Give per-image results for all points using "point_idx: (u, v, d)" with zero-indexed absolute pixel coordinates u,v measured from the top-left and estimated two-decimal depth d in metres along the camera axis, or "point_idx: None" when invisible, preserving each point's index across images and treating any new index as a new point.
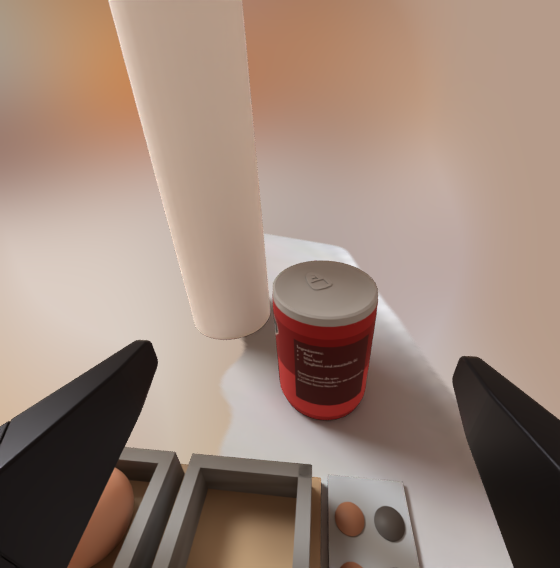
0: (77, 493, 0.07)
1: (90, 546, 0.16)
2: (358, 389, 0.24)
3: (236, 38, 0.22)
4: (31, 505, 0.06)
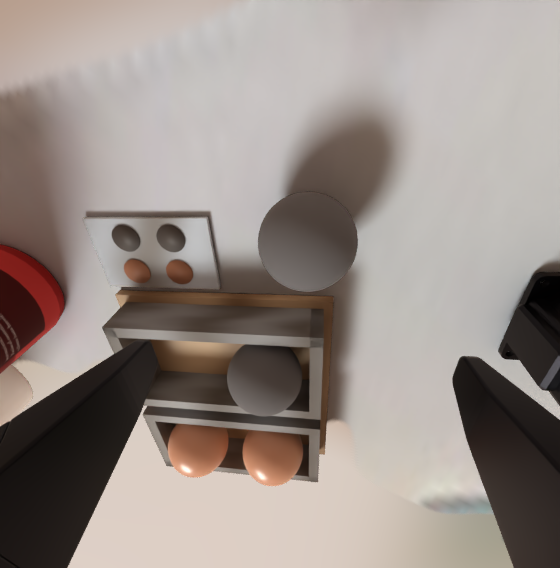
0: (77, 493, 0.07)
1: (210, 442, 0.24)
2: None
3: None
4: (31, 505, 0.06)
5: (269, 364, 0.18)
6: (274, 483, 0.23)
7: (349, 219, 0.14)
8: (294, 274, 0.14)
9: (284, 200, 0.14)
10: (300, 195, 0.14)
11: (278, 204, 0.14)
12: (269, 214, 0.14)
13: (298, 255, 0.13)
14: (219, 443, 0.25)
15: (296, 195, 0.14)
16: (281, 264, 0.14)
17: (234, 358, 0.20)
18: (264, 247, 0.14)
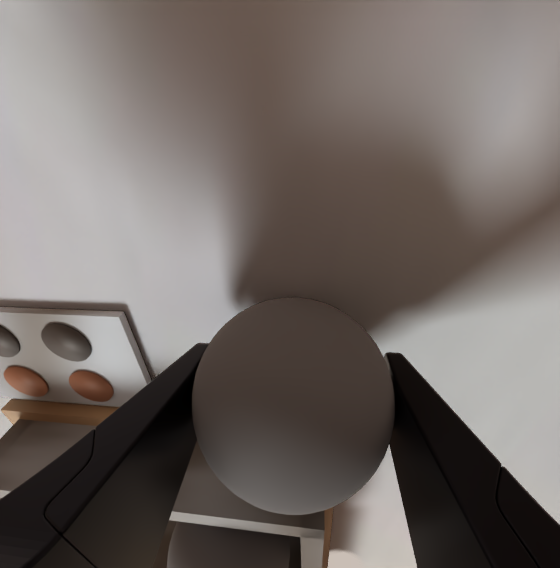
0: (157, 503, 0.07)
1: None
2: None
3: None
4: (124, 517, 0.06)
5: (231, 562, 0.11)
6: None
7: (381, 376, 0.06)
8: (260, 506, 0.06)
9: (240, 330, 0.07)
10: (273, 323, 0.06)
11: (227, 338, 0.07)
12: (209, 358, 0.07)
13: (264, 484, 0.06)
14: None
15: (265, 321, 0.07)
16: (230, 485, 0.06)
17: (178, 531, 0.12)
18: (196, 432, 0.07)
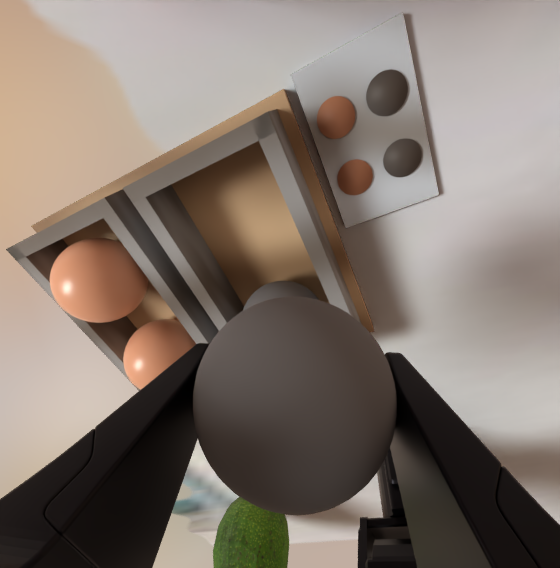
0: (157, 503, 0.07)
1: (133, 300, 0.18)
2: None
3: None
4: (124, 517, 0.06)
5: None
6: None
7: (383, 375, 0.06)
8: (261, 507, 0.06)
9: (242, 329, 0.07)
10: (276, 322, 0.06)
11: (229, 337, 0.07)
12: (210, 357, 0.07)
13: (266, 484, 0.06)
14: (134, 308, 0.18)
15: (267, 320, 0.07)
16: (231, 484, 0.06)
17: (297, 291, 0.17)
18: (198, 432, 0.07)
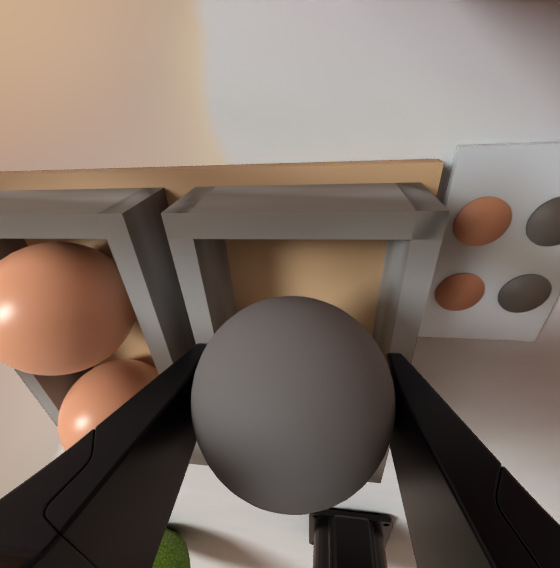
0: (157, 503, 0.07)
1: (108, 355, 0.12)
2: None
3: None
4: (124, 517, 0.06)
5: None
6: None
7: (381, 374, 0.06)
8: (260, 506, 0.06)
9: (239, 329, 0.07)
10: (273, 322, 0.06)
11: (227, 336, 0.07)
12: (208, 357, 0.07)
13: (264, 484, 0.06)
14: None
15: (265, 319, 0.07)
16: (229, 484, 0.06)
17: None
18: (195, 432, 0.07)
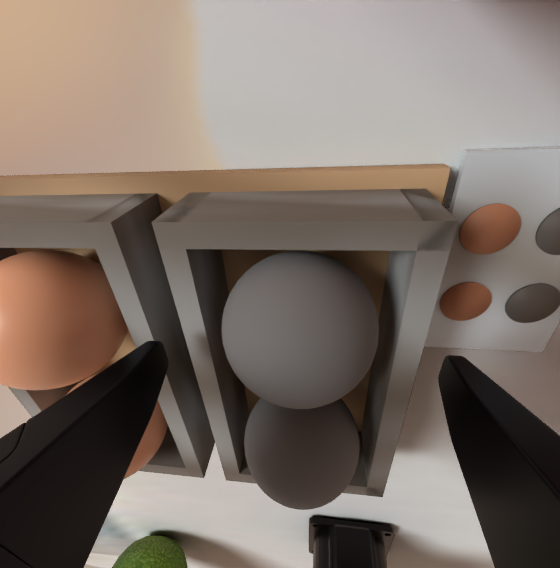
0: (92, 495, 0.07)
1: (98, 368, 0.11)
2: None
3: None
4: (48, 507, 0.06)
5: None
6: None
7: (367, 302, 0.09)
8: (277, 397, 0.08)
9: (260, 269, 0.09)
10: (286, 262, 0.09)
11: (251, 275, 0.09)
12: (236, 291, 0.09)
13: (281, 373, 0.08)
14: None
15: (280, 261, 0.09)
16: (254, 380, 0.08)
17: (342, 420, 0.12)
18: (228, 346, 0.09)
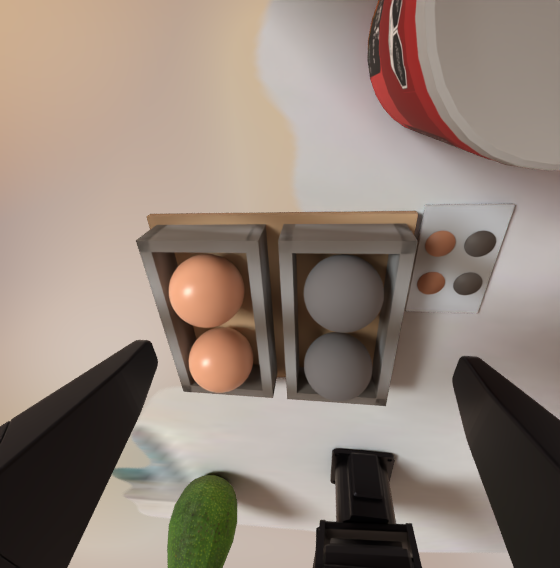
0: (77, 493, 0.07)
1: (232, 317, 0.21)
2: None
3: None
4: (31, 505, 0.06)
5: (368, 383, 0.22)
6: (210, 387, 0.22)
7: (378, 278, 0.18)
8: (337, 322, 0.18)
9: (327, 263, 0.18)
10: (340, 259, 0.18)
11: (322, 266, 0.18)
12: (315, 273, 0.18)
13: (341, 308, 0.17)
14: None
15: (336, 259, 0.18)
16: (326, 314, 0.18)
17: (362, 350, 0.22)
18: (312, 300, 0.18)
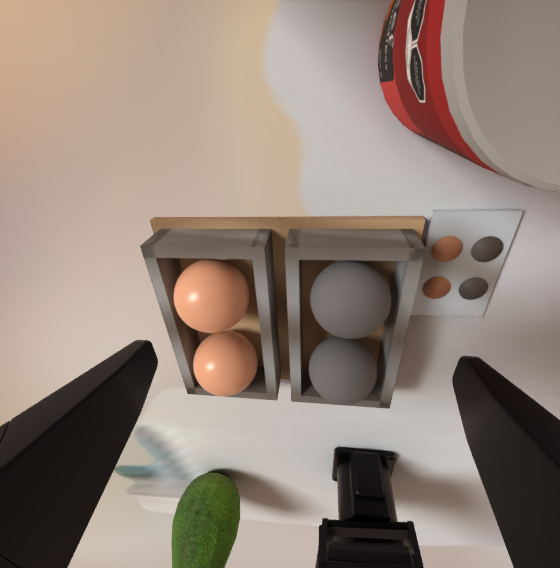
0: (77, 493, 0.07)
1: (237, 322, 0.21)
2: None
3: None
4: (31, 505, 0.06)
5: None
6: (215, 391, 0.22)
7: (386, 284, 0.18)
8: (345, 329, 0.18)
9: (334, 269, 0.18)
10: (347, 266, 0.18)
11: (329, 272, 0.18)
12: (322, 280, 0.18)
13: (349, 316, 0.17)
14: None
15: (344, 265, 0.18)
16: (334, 321, 0.18)
17: (367, 354, 0.22)
18: (319, 307, 0.18)
